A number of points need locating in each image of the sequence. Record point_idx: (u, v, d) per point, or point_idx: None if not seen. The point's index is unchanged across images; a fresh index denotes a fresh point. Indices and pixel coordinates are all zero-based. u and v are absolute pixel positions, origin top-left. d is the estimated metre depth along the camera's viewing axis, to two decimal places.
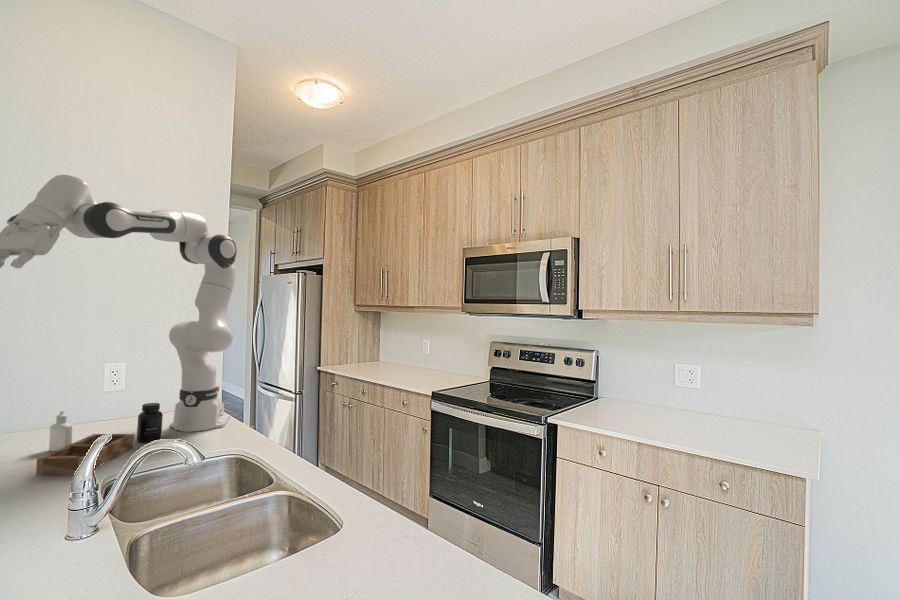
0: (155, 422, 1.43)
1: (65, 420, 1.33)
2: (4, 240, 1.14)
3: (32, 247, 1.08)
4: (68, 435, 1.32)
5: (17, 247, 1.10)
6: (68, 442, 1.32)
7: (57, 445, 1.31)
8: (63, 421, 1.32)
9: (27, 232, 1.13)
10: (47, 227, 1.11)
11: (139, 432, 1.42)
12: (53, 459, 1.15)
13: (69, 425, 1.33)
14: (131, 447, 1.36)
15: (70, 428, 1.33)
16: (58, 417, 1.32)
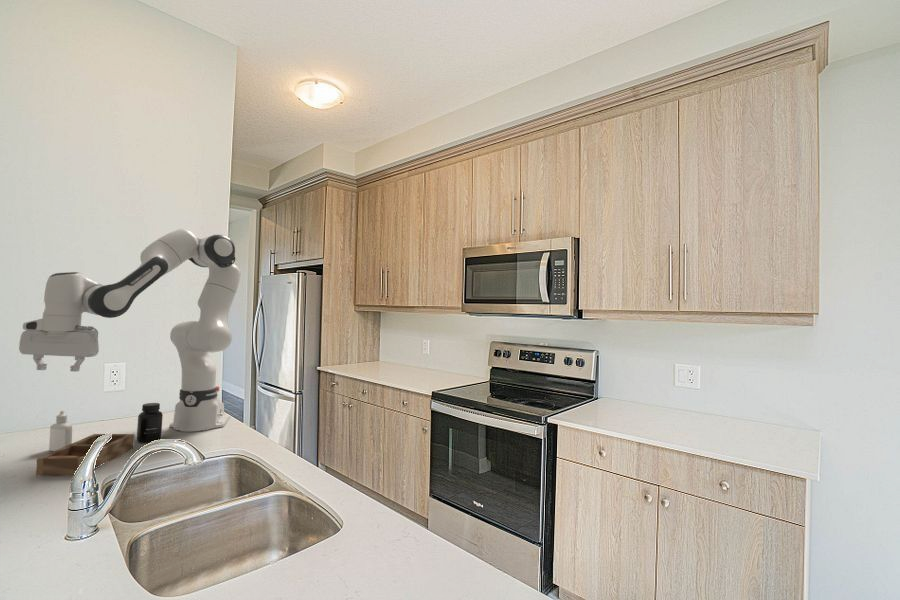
0: (155, 422, 1.43)
1: (65, 420, 1.33)
2: (36, 346, 1.29)
3: (89, 356, 1.31)
4: (68, 435, 1.32)
5: (66, 355, 1.30)
6: (68, 442, 1.32)
7: (57, 445, 1.31)
8: (63, 421, 1.32)
9: (63, 338, 1.30)
10: (89, 335, 1.31)
11: (139, 432, 1.42)
12: (53, 459, 1.15)
13: (69, 425, 1.33)
14: (131, 447, 1.36)
15: (70, 428, 1.33)
16: (58, 417, 1.32)
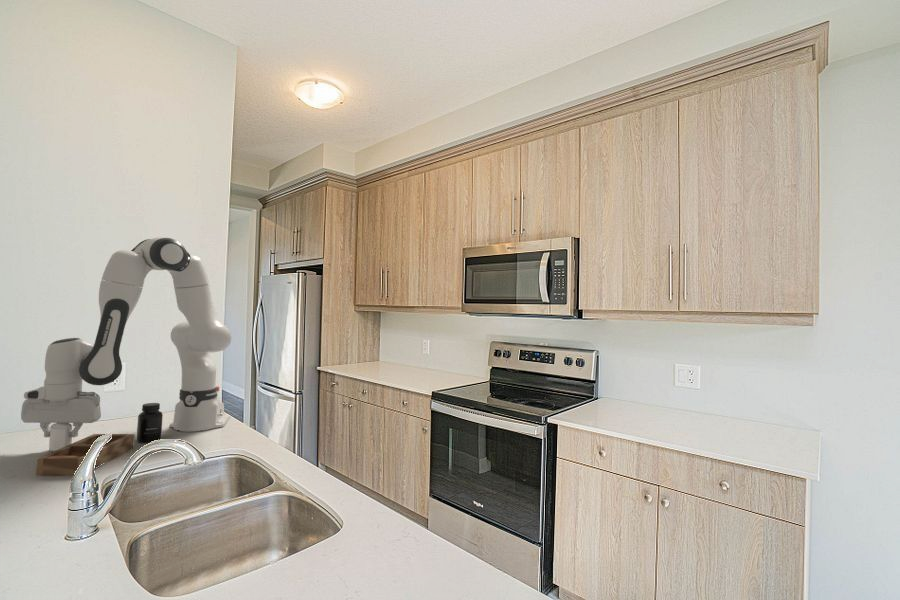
0: (155, 422, 1.43)
1: None
2: (38, 415, 1.30)
3: (92, 422, 1.33)
4: (68, 435, 1.32)
5: (69, 422, 1.32)
6: (68, 442, 1.32)
7: (57, 445, 1.31)
8: None
9: (65, 405, 1.32)
10: (91, 401, 1.33)
11: (139, 432, 1.42)
12: (53, 459, 1.15)
13: (69, 425, 1.33)
14: (131, 447, 1.36)
15: (70, 428, 1.33)
16: None
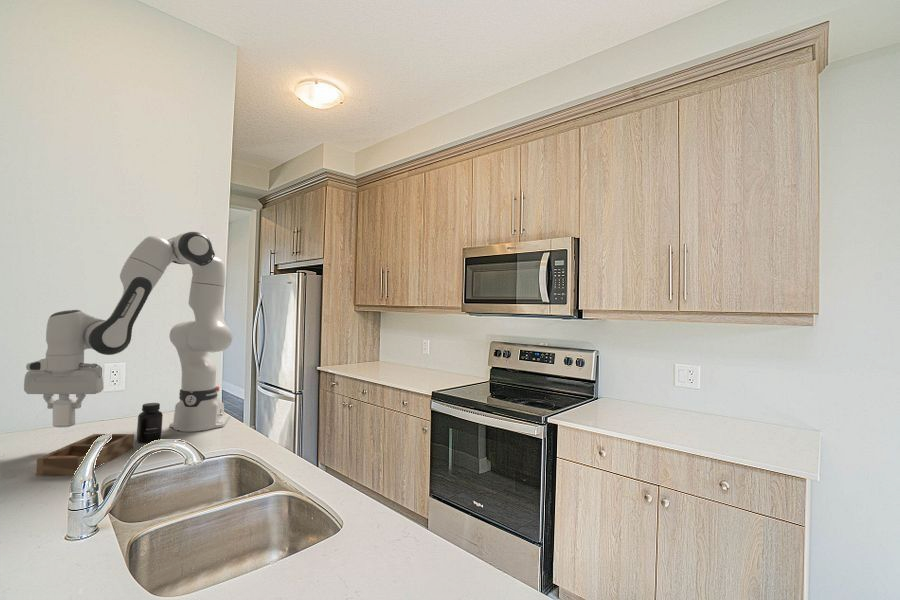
0: (155, 422, 1.43)
1: (68, 396, 1.33)
2: (41, 386, 1.31)
3: (95, 393, 1.33)
4: (72, 411, 1.33)
5: (72, 393, 1.32)
6: (72, 417, 1.33)
7: (61, 420, 1.32)
8: (66, 397, 1.33)
9: (67, 377, 1.32)
10: (93, 372, 1.33)
11: (139, 432, 1.42)
12: (53, 459, 1.15)
13: (72, 401, 1.33)
14: (131, 447, 1.36)
15: None
16: None
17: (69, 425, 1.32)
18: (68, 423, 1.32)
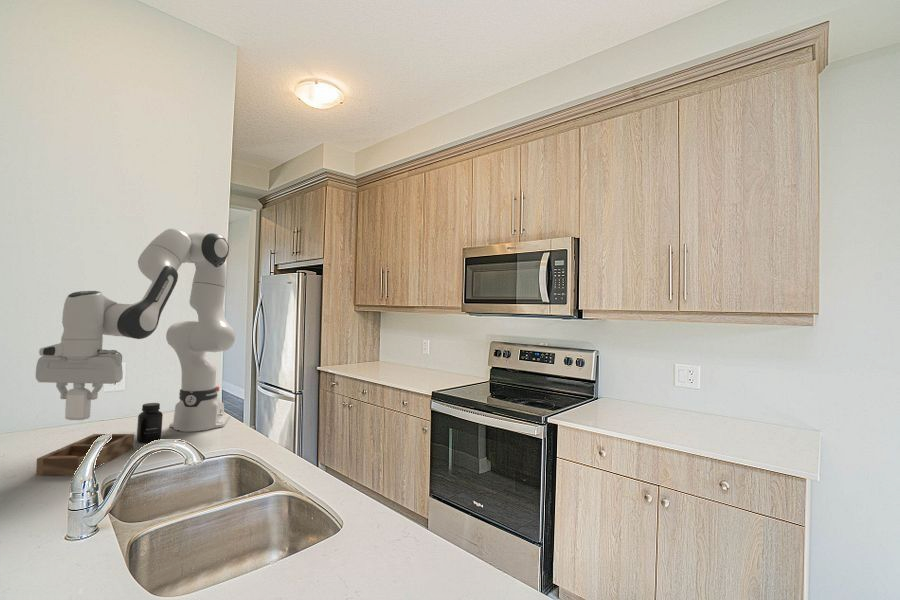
0: (155, 422, 1.43)
1: (83, 385, 1.20)
2: (54, 374, 1.18)
3: (113, 382, 1.20)
4: (87, 402, 1.20)
5: (88, 382, 1.19)
6: (87, 409, 1.20)
7: (75, 412, 1.19)
8: (81, 387, 1.20)
9: (84, 364, 1.19)
10: (113, 359, 1.20)
11: (139, 432, 1.42)
12: (53, 459, 1.15)
13: (88, 391, 1.21)
14: (131, 447, 1.36)
15: None
16: None
17: (83, 418, 1.19)
18: (82, 416, 1.19)
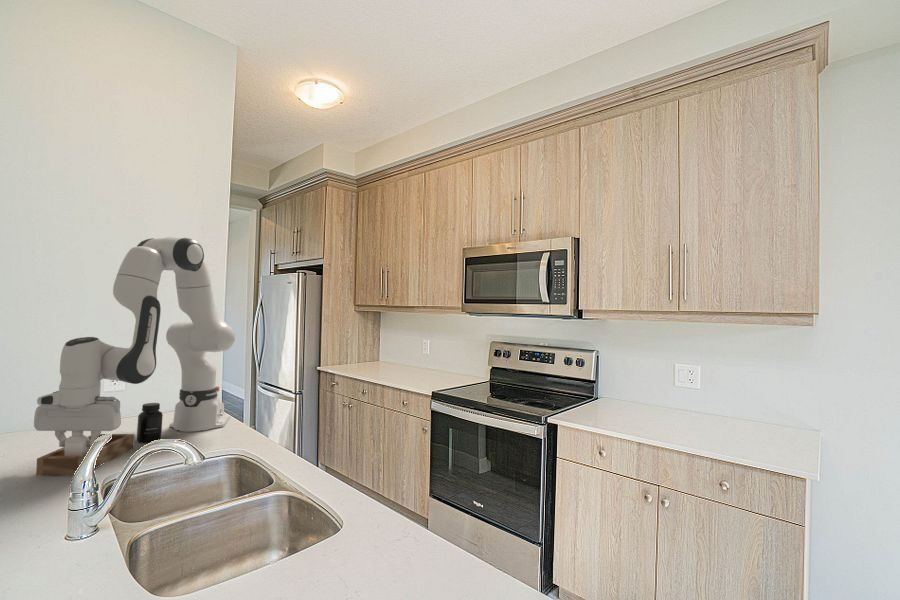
0: (155, 422, 1.43)
1: (82, 433, 1.21)
2: (52, 422, 1.18)
3: (111, 430, 1.20)
4: (85, 449, 1.20)
5: (87, 430, 1.19)
6: None
7: None
8: (80, 434, 1.20)
9: (82, 411, 1.19)
10: (111, 407, 1.20)
11: (139, 432, 1.42)
12: (53, 459, 1.15)
13: (86, 438, 1.21)
14: (131, 447, 1.36)
15: None
16: None
17: None
18: None
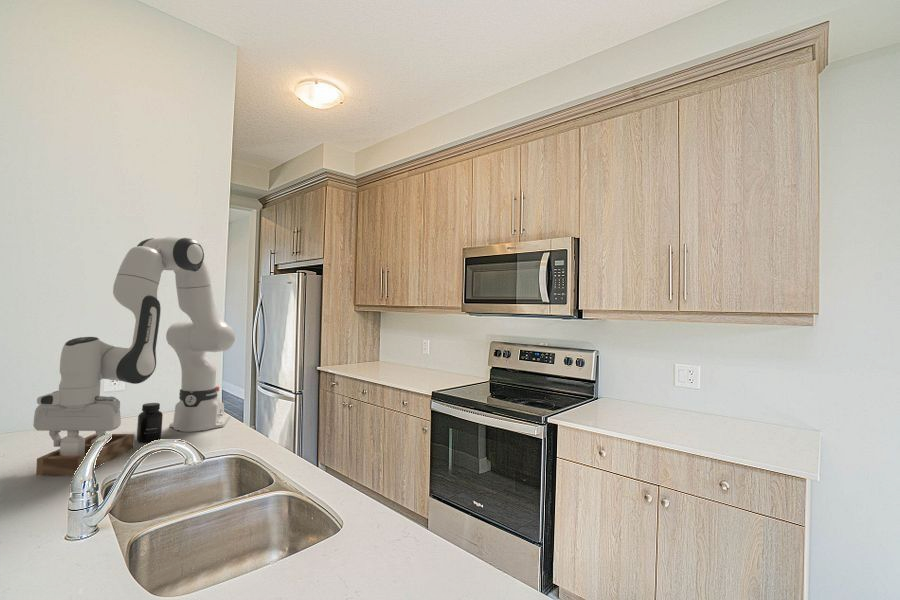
0: (155, 422, 1.43)
1: (77, 433, 1.21)
2: (52, 422, 1.18)
3: (111, 429, 1.20)
4: (81, 449, 1.20)
5: (86, 430, 1.19)
6: None
7: None
8: (75, 434, 1.20)
9: (82, 411, 1.19)
10: (111, 407, 1.20)
11: (139, 432, 1.42)
12: (53, 459, 1.15)
13: (82, 438, 1.21)
14: (131, 447, 1.36)
15: (83, 441, 1.21)
16: None
17: None
18: None
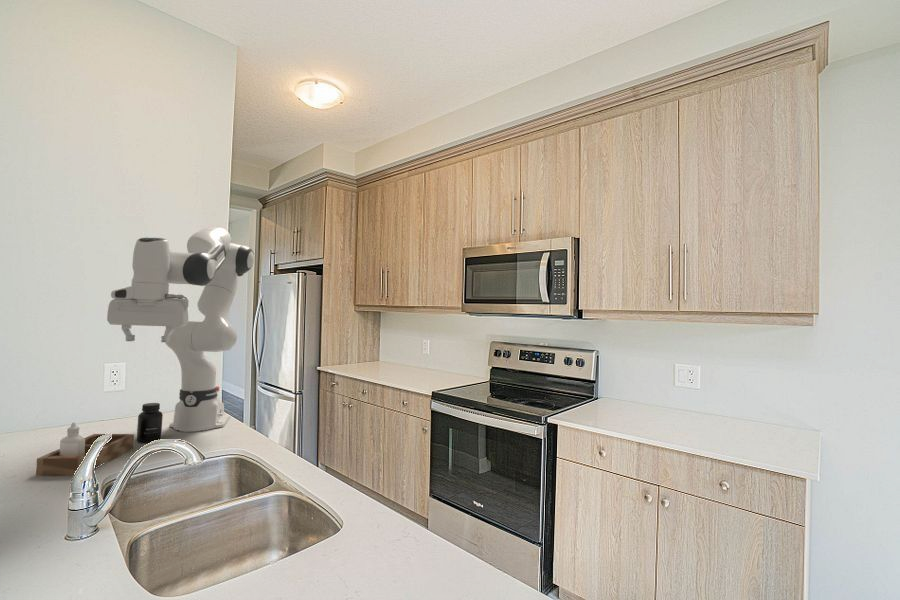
0: (155, 422, 1.43)
1: (77, 433, 1.21)
2: (125, 316, 1.22)
3: (181, 325, 1.24)
4: (81, 449, 1.20)
5: (157, 325, 1.23)
6: None
7: None
8: (75, 434, 1.20)
9: (153, 307, 1.23)
10: (180, 303, 1.24)
11: (139, 432, 1.42)
12: (53, 459, 1.15)
13: (82, 438, 1.21)
14: (131, 447, 1.36)
15: (83, 441, 1.21)
16: (70, 430, 1.19)
17: None
18: None
